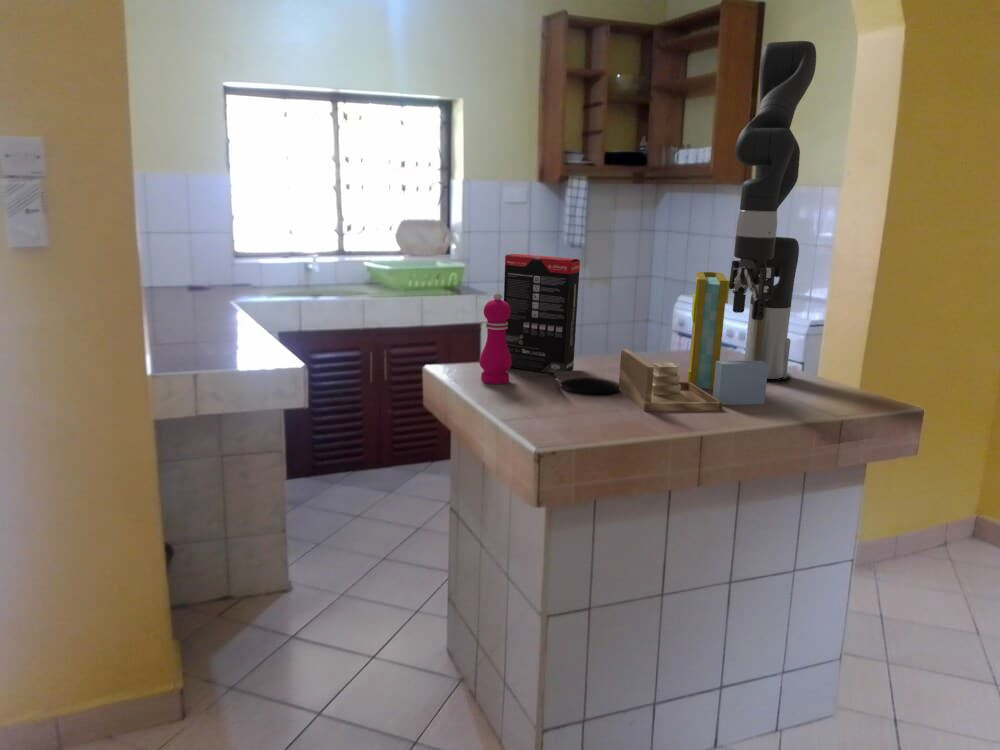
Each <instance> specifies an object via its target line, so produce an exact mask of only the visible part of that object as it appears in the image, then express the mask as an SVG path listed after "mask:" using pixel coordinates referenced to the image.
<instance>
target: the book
mask: <svg viewBox="0 0 1000 750" xmlns="http://www.w3.org/2000/svg"><path fill="white" fill-rule="evenodd" d="M729 283H730V278H727V277H726V276H725V274H724V273H723V272H717V271H716V272H715V271H697V272H696V279H695V292H694V293H693V294H692V304H691V306H692V307H691V318H692V325H691V326H692V327H691V335H690V337H691V339H690V346H689V347H690V348H689V349H690V350H689V358H688V361H689V362H688V370H687V371H688V372H687V374H688V375H687V382H691V383H693V384H694V385H696V386H697V387H699V388H700V389H704V390H705V389H708V390H712V391H713V386H714V376H715V366H716V361H721V352H722V351H721V350H722V340H723V329H724V321H725V320H724V319H725V311H726V310H725V309H726V304H728V302H729V295H730V293H729V292H730V289H729Z"/></svg>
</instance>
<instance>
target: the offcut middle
mask: <svg viewBox="0 0 1000 750" xmlns="http://www.w3.org/2000/svg"><path fill="white" fill-rule="evenodd" d="M679 382H680V375H679V374H677V376H658V375H657V374H655V373H654V372H653V384H655V385H656V386H662V385H679Z"/></svg>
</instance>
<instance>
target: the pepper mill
mask: <svg viewBox="0 0 1000 750" xmlns="http://www.w3.org/2000/svg"><path fill="white" fill-rule="evenodd" d="M502 296H503V295H502V294H501V293H500V292H495V293H494V295H493V299H491V300H489V301H488V302H487V303H485V305H484V307H483V315H484V318H486V321H485V328H486V329H487V330H486V333H487V336H486V342H485V345H484V347H483V349H482V351H481V354H480V356H479V363H478V364H479V366H480V367H481V369H482V370H483V371H482V372H481V374H480V375H481V376H480V380H481V382H483V383H484V382H485V384H488V383H490V385H503V384H504V385H505V384H507V383H509V381H510V373H509V372H508V370H509V369H511V368H512V367H511V365H512V360H511V355H510V352H509V350H508V347H507V344H506V335H505V334H506V329H507V328H508V325H507V324H508V322H506V321H507V319H508V318H509V317H510V314H511V309H510V306H509V304H508V303H507V302H505V301H504V299H502Z"/></svg>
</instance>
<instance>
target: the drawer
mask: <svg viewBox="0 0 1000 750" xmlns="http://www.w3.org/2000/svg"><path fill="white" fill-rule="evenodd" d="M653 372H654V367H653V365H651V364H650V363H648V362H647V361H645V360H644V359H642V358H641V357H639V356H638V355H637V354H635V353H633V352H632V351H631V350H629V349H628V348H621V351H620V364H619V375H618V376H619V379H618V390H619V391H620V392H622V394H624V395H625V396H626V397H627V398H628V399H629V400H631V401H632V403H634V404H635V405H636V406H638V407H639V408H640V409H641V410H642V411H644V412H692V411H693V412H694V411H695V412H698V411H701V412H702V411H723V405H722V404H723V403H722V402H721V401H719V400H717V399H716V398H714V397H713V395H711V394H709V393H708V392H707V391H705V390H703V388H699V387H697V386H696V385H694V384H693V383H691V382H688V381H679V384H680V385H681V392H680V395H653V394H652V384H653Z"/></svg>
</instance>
